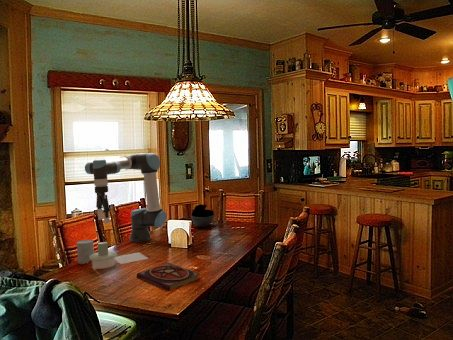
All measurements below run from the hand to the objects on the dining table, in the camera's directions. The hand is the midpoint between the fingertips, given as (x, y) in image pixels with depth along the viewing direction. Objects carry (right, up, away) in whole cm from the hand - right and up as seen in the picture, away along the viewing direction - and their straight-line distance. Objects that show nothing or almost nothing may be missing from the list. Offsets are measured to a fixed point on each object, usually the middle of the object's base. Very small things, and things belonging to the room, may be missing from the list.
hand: (103, 221), depth 219 cm
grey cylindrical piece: (-13, -26, +7) cm, 30 cm away
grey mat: (+14, -25, +7) cm, 29 cm away
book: (+43, -26, -27) cm, 57 cm away
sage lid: (+2, -20, -5) cm, 20 cm away
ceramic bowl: (+2, -26, -5) cm, 26 cm away
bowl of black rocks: (+53, -18, +94) cm, 110 cm away
